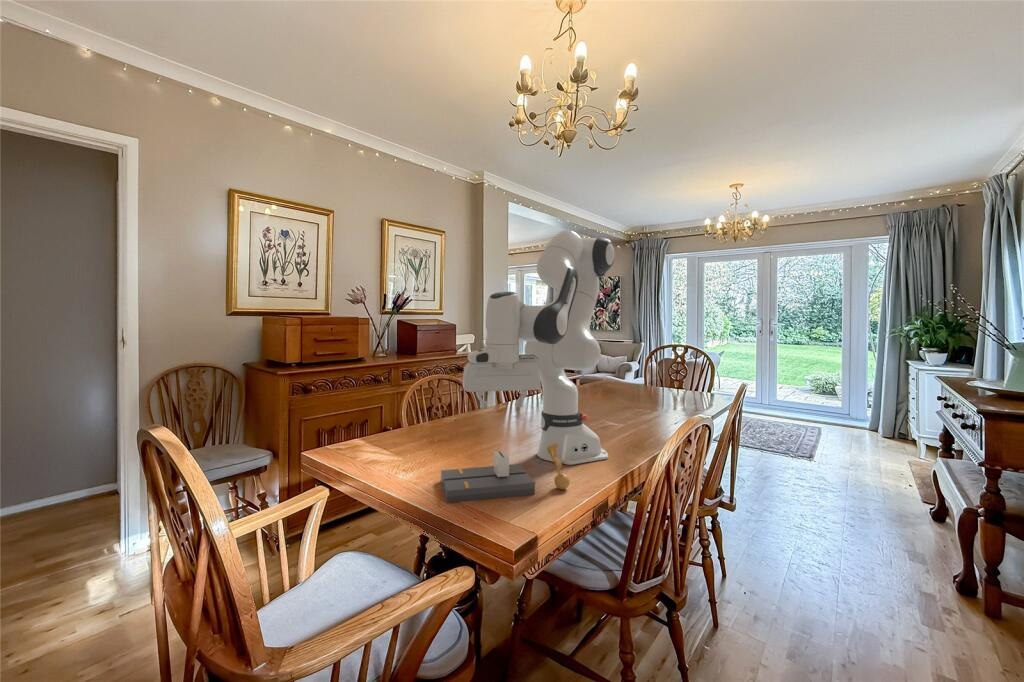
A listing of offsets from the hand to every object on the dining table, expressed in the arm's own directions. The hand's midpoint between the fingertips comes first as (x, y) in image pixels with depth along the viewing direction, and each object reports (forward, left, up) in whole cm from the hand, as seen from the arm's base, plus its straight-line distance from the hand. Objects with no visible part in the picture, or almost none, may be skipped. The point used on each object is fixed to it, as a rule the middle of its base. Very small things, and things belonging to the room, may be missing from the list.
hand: (501, 407), depth 115 cm
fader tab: (0, 0, -19) cm, 19 cm away
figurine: (-14, +5, -21) cm, 26 cm away
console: (+4, 0, -21) cm, 21 cm away
